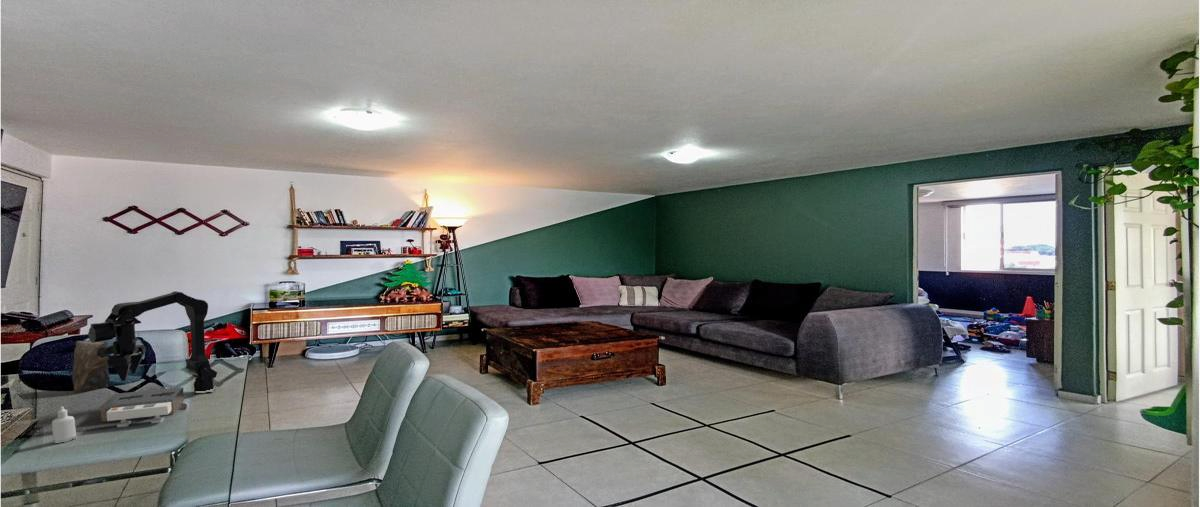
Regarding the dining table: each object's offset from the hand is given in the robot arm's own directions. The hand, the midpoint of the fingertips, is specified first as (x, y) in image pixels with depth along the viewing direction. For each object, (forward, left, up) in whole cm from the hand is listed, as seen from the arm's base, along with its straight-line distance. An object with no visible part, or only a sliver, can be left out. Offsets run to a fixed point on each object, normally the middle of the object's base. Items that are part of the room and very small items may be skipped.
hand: (128, 376), depth 222 cm
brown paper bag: (+26, -37, -14) cm, 48 cm away
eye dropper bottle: (+11, +23, -14) cm, 29 cm away
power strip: (-7, +14, -14) cm, 21 cm away
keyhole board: (-5, +1, -14) cm, 15 cm away
